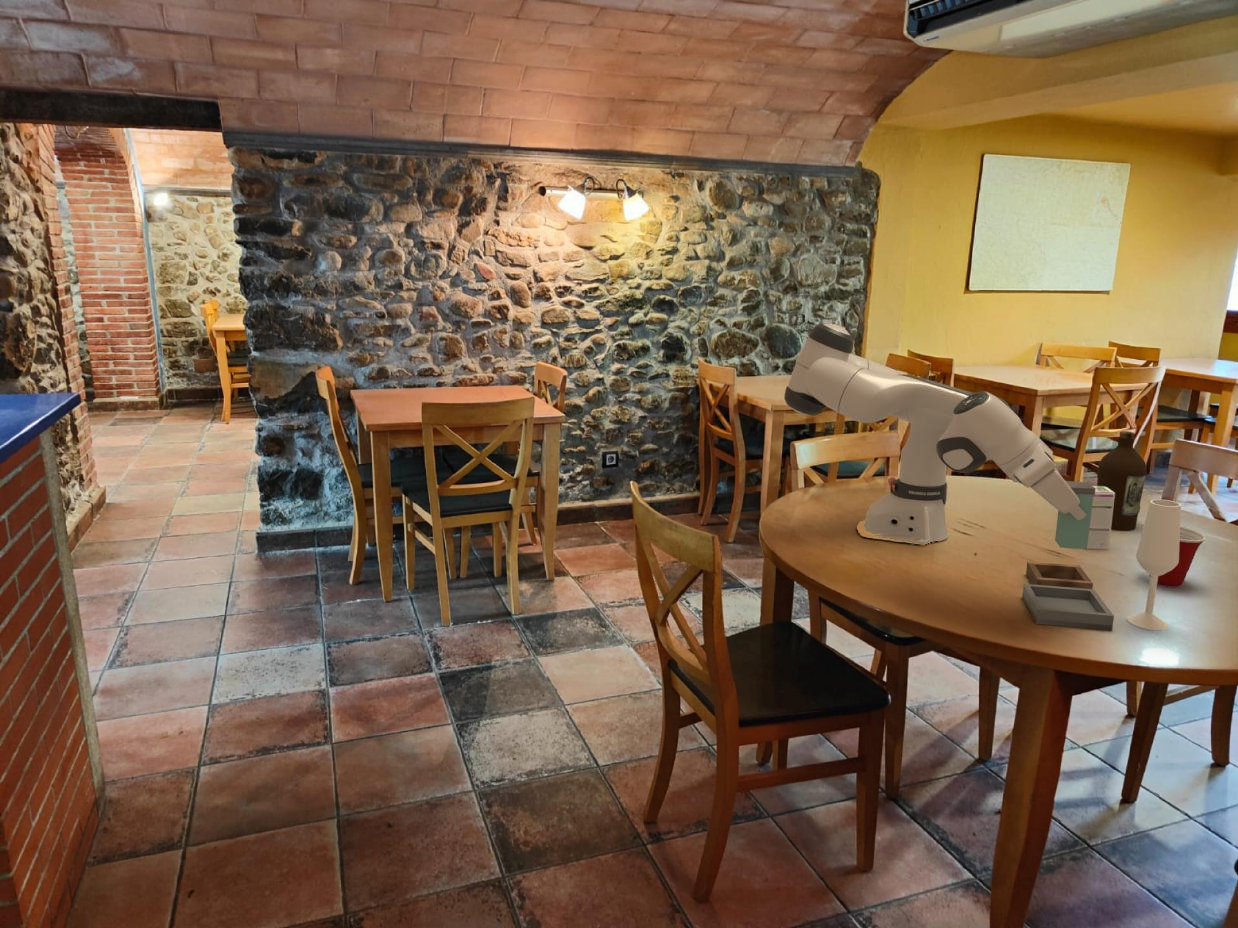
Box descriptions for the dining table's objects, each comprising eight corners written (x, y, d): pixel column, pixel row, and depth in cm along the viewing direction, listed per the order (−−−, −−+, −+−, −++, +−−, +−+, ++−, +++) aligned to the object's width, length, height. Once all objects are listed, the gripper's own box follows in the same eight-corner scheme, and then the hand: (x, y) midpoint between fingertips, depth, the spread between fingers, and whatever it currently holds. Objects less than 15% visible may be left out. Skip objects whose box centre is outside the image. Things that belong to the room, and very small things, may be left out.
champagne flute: (1122, 613, 156) (1138, 496, 150) (1161, 616, 154) (1179, 499, 149) (1132, 627, 150) (1150, 507, 144) (1173, 631, 148) (1193, 509, 142)
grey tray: (1036, 623, 153) (1037, 609, 152) (1022, 597, 165) (1023, 583, 164) (1112, 630, 149) (1114, 615, 148) (1092, 602, 161) (1094, 589, 160)
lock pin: (1059, 547, 151) (1066, 487, 148) (1053, 539, 155) (1060, 480, 153) (1087, 549, 150) (1095, 488, 147) (1081, 541, 154) (1088, 482, 151)
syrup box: (1109, 550, 190) (1117, 492, 187) (1082, 548, 191) (1089, 491, 188) (1100, 542, 196) (1107, 485, 192) (1074, 540, 197) (1081, 484, 193)
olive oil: (1082, 522, 210) (1093, 430, 204) (1108, 516, 215) (1120, 426, 209) (1121, 534, 201) (1134, 438, 195) (1147, 527, 205) (1161, 433, 199)
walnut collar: (1036, 592, 167) (1037, 579, 166) (1025, 574, 177) (1027, 561, 176) (1091, 596, 164) (1093, 583, 163) (1077, 578, 174) (1079, 565, 173)
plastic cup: (1200, 595, 163) (1209, 541, 161) (1138, 586, 169) (1145, 532, 166) (1196, 578, 172) (1204, 526, 169) (1137, 569, 178) (1144, 518, 175)
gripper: (1003, 459, 162) (1051, 507, 162) (1023, 484, 143) (1077, 539, 143) (1029, 438, 160) (1078, 488, 159) (1053, 461, 141) (1108, 517, 140)
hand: (1077, 512), depth 151 cm, fingers closed on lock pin, 4 cm apart
